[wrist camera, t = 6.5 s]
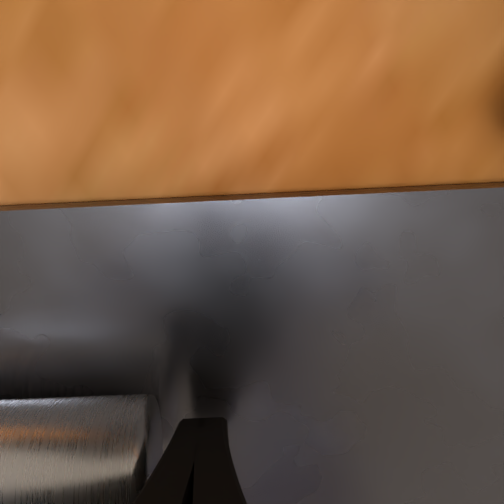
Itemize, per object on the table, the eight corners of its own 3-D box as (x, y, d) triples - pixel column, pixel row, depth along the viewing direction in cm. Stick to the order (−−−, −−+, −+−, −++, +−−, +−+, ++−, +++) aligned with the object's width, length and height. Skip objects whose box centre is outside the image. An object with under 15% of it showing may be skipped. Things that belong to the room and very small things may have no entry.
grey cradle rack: (581, 544, 16) (751, 780, 11) (-365, 588, 16) (-670, 846, 11) (692, 173, 12) (1089, 261, 6) (-637, 235, 12) (-1413, 379, 6)
